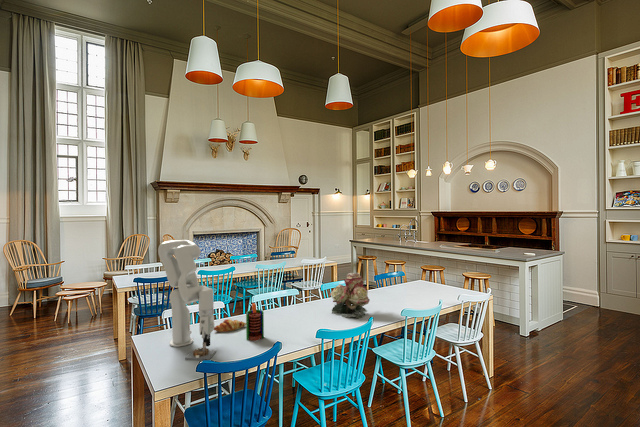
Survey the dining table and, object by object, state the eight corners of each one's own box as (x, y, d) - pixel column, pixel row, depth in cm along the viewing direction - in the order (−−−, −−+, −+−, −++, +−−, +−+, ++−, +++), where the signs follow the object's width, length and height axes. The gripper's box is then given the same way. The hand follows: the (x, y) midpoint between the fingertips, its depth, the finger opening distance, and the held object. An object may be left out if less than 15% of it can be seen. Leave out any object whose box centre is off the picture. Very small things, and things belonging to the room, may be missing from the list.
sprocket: (211, 351, 187) (211, 340, 187) (201, 357, 179) (201, 345, 179) (200, 349, 190) (200, 338, 189) (189, 355, 182) (189, 343, 182)
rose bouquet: (326, 315, 252) (325, 273, 252) (349, 306, 275) (349, 267, 274) (355, 322, 236) (355, 277, 235) (378, 311, 258) (377, 271, 258)
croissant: (244, 330, 232) (243, 318, 236) (249, 327, 225) (247, 314, 228) (212, 336, 221) (210, 323, 225) (216, 332, 214) (214, 319, 217)
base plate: (193, 351, 190) (193, 348, 190) (215, 351, 189) (215, 348, 189) (185, 359, 180) (185, 355, 180) (209, 359, 179) (209, 355, 179)
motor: (249, 342, 203) (248, 307, 202) (244, 337, 210) (243, 304, 210) (265, 338, 208) (265, 305, 208) (259, 334, 216) (259, 301, 215)
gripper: (208, 315, 179) (208, 351, 179) (217, 307, 194) (218, 340, 194) (193, 315, 179) (194, 351, 179) (204, 307, 194) (205, 340, 194)
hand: (206, 345), depth 187 cm, fingers closed
